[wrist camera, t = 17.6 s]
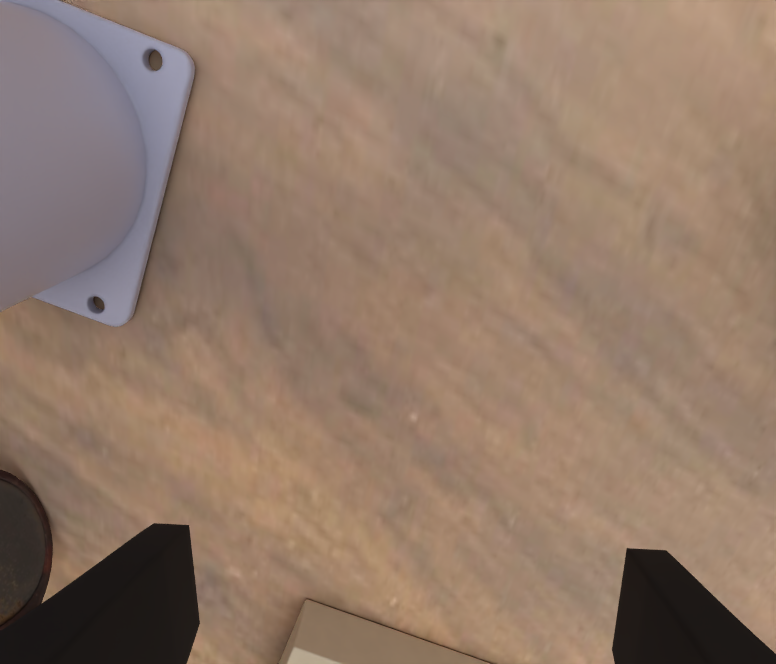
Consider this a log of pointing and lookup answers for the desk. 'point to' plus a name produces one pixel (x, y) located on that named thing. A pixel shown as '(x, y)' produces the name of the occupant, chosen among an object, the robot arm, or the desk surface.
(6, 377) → the desk surface
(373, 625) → the scale
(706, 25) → the desk surface
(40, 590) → the eyeglasses
